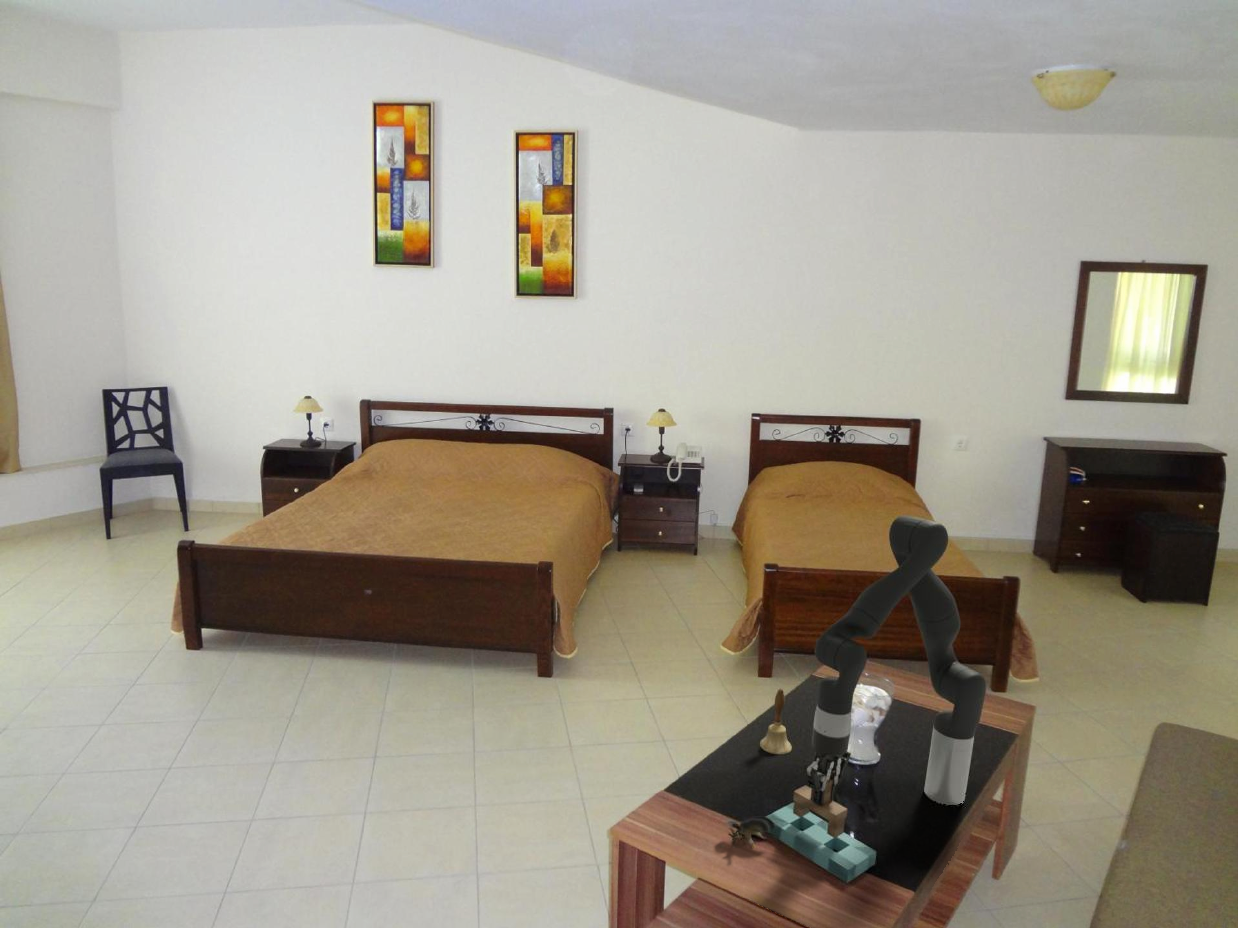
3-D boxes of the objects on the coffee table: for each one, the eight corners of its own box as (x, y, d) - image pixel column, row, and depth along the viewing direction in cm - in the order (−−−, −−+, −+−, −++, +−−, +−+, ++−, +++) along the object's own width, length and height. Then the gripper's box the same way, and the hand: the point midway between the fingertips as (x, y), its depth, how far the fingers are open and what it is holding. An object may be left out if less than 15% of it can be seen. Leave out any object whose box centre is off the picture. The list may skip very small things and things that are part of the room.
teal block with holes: (763, 829, 196) (764, 817, 195) (791, 813, 202) (793, 801, 202) (846, 882, 179) (848, 869, 179) (874, 864, 186) (876, 851, 185)
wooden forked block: (791, 813, 193) (796, 770, 191) (802, 807, 196) (807, 764, 193) (833, 838, 185) (838, 793, 183) (844, 832, 187) (850, 787, 185)
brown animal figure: (748, 855, 184) (781, 836, 189) (735, 821, 186) (767, 803, 190) (730, 854, 191) (762, 836, 195) (717, 821, 192) (749, 804, 197)
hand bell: (754, 747, 231) (760, 690, 228) (767, 735, 238) (773, 680, 234) (784, 758, 226) (790, 700, 223) (796, 745, 233) (802, 689, 230)
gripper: (826, 744, 178) (817, 821, 181) (866, 724, 187) (857, 798, 190) (796, 728, 183) (788, 803, 187) (836, 710, 193) (828, 782, 196)
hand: (823, 800), depth 189 cm, fingers closed on wooden forked block, 3 cm apart
